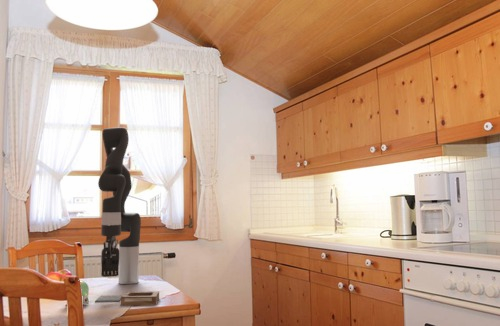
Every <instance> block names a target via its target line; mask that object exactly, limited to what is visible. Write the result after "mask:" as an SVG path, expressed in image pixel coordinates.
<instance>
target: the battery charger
mask: <svg viewBox="0 0 500 326" xmlns="http://www.w3.org/2000/svg"><path fill="white" fill-rule="evenodd" d="M107 254H109V252H108V253H107ZM100 256H101V257H100V265H101V269H100V276H101V277H103V278H105V277H108V278H109V277H119V247H118V246H117V247H114V252H113V254H112V267H111V268H106V258H105V257H104V247H103V248H102V249H101V255H100Z"/></svg>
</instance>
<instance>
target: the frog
mask: <svg viewBox="0 0 500 326" xmlns="http://www.w3.org/2000/svg"><path fill="white" fill-rule="evenodd" d="M80 282H81V289H82V296H83V305H84V306H85V305H86V306H87V305H88V304H89V303H90V300H89V290H90V289H89V285H88V283H87V282H85V281H84V280H80ZM66 306H68V305H67V303H66V304H65V307H66Z"/></svg>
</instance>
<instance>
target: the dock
mask: <svg viewBox="0 0 500 326" xmlns="http://www.w3.org/2000/svg"><path fill="white" fill-rule="evenodd" d="M159 300H160V290H159V291H158V290H157V291H156V290H155V291H125V292H124V293H123V294H122V296H121V300H120V306H156V305H157V304H158V302H159Z"/></svg>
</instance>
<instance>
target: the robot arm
mask: <svg viewBox="0 0 500 326" xmlns="http://www.w3.org/2000/svg"><path fill="white" fill-rule="evenodd" d="M101 136H102V141H103V147H104V152H105V155H106V158H105V165H104V170H103V172H102V173H101V174H100V176H99V178H98V183H97V184H98V189H100V191H101V192H105V193H107V192H109V193H111V192H112V196H110V197H105V198H104V199H103V200H102V215H101V234H100V235H101V236H103V237H106V238H105V241H104V242H103V248H104V257H105V258H106V268H111V267H112V254H113V252H114V247H117V248H118V249H119V275H118V284H121V285H133V284H137V283H139V265H140V240H141V224H142V220H141V215H140V214H139V213H138V212H126V211H125V210H126V208H125V206H126V205H125V204H126V201H127V199H128V196H130V193H131V190H132V184H133V183H132V177H131V174H130V171H129V170H128V168H127V167H126V166H125V165H124V159H125V156H126V152H127V148H128V146H129V133H128V129H127V128H126V127H123V126H117V127H105V128H104V129H103V130H102V135H101ZM122 233H129V235H128V236H127V237H125V238H123V239H121V240H119V239H117V237H118V236H121V235H122ZM118 240H119V241H118ZM108 252H109V254H107V253H108Z"/></svg>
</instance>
